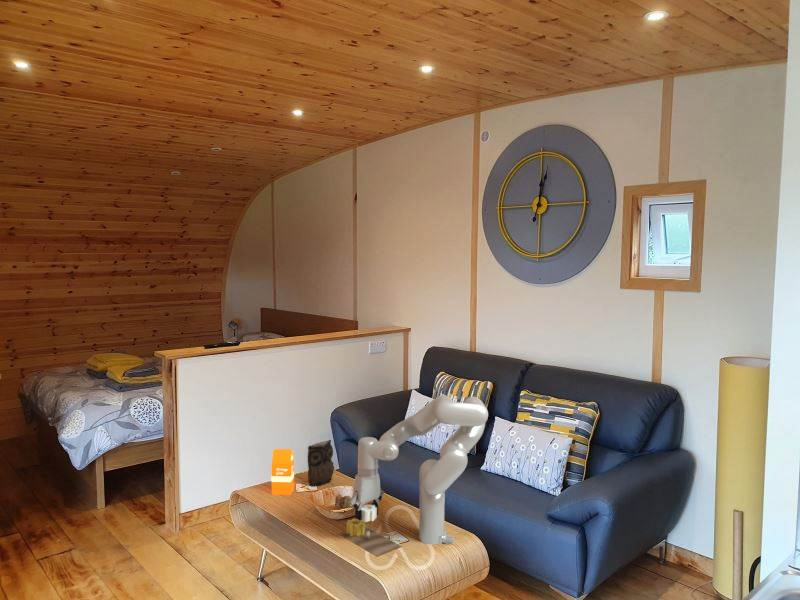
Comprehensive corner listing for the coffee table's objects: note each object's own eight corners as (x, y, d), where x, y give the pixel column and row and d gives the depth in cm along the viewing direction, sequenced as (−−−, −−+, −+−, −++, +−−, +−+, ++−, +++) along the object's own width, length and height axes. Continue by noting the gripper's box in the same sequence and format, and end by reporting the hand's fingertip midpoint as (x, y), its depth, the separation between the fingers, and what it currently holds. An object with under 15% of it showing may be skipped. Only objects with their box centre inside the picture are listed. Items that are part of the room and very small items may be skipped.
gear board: (402, 550, 228) (402, 538, 227) (376, 560, 220) (377, 548, 219) (362, 528, 246) (362, 517, 245) (337, 537, 238) (337, 526, 237)
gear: (368, 530, 240) (368, 520, 240) (359, 537, 234) (359, 527, 234) (352, 526, 244) (352, 517, 243) (343, 534, 237) (343, 524, 237)
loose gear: (380, 518, 232) (380, 508, 232) (365, 523, 227) (366, 513, 227) (368, 512, 237) (368, 502, 237) (353, 517, 233) (354, 507, 232)
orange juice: (290, 495, 279) (290, 452, 277) (271, 494, 279) (271, 451, 278) (294, 488, 287) (294, 446, 285) (275, 488, 287) (275, 446, 285)
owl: (334, 478, 300) (334, 438, 298) (329, 488, 287) (329, 446, 286) (309, 477, 301) (309, 437, 299) (303, 487, 288) (302, 445, 287)
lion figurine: (355, 517, 256) (355, 496, 255) (344, 520, 253) (344, 499, 252) (338, 505, 268) (338, 485, 268) (327, 507, 265) (327, 487, 265)
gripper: (379, 463, 240) (378, 507, 241) (343, 472, 228) (342, 519, 230) (391, 468, 234) (390, 513, 236) (355, 478, 223) (354, 526, 224)
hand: (366, 516), depth 233 cm, fingers closed on loose gear, 7 cm apart
